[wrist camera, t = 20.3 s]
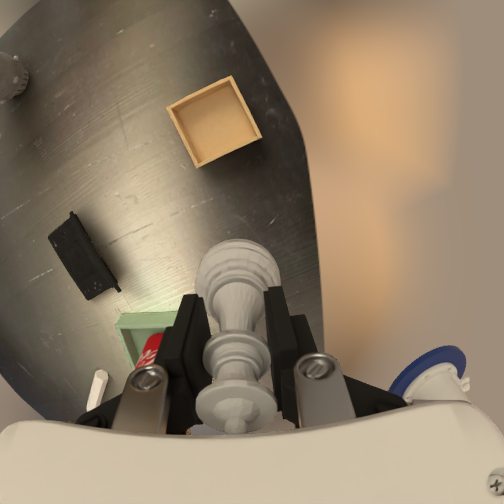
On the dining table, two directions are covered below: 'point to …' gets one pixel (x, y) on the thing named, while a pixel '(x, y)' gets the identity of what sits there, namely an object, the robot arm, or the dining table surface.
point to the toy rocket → (11, 77)
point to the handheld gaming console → (82, 258)
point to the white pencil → (97, 389)
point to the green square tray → (141, 330)
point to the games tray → (214, 121)
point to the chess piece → (236, 336)
